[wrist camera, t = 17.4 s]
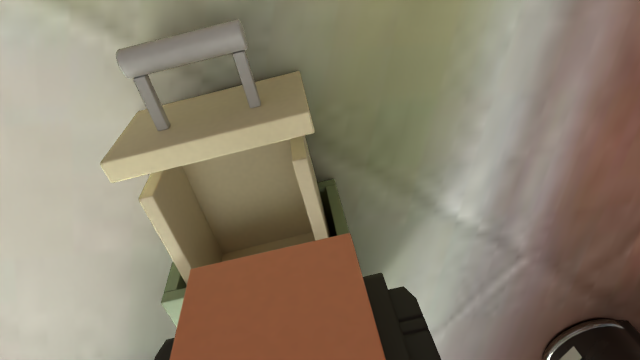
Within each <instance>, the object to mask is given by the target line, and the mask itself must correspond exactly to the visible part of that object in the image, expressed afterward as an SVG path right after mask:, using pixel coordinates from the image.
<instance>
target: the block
mask: <svg viewBox="0 0 640 360" xmlns="http://www.w3.org/2000/svg"><path fill="white" fill-rule="evenodd" d="M170 360H386V359H385V355H384V352H383V348H382V344H381V341H380V337H379V334H378V330H377V327H376V323H375V319H374V316H373V312H372V309H371V305H370V302H369V298H368V294H367V291H366V287H365V284H364V280H363V277H362V273H361V269H360V266H359V262H358V259H357V255H356V252H355V248H354V244H353V241H352V237H351V234H350V233H347V234H342V235H338V236H333V237H329V238H325V239H320V240H316V241H312V242H307V243H303V244H298V245H294V246H290V247H285V248H281V249H276V250H272V251H268V252H263V253H259V254H254V255H250V256H246V257H241V258H237V259H232V260H228V261H224V262H219V263H215V264H211V265H206V266H202V267H197V268H193V269H191V270H190V274H189V278H188V282H187V287H186V291H185V295H184V299H183V304H182V308H181V312H180V317H179V321H178V325H177V330H176V334H175V338H174V343H173V347H172V351H171V356H170Z"/></svg>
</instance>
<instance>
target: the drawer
mask: <svg viewBox="0 0 640 360" xmlns="http://www.w3.org/2000/svg"><path fill="white" fill-rule="evenodd" d="M247 48H248V45H247V40H246V36H245V32H244V29H243V26H242V24H241V22H240V20H238V19H237V20H233V21H229V22H225V23H221V24H217V25H213V26H209V27H205V28H201V29H197V30H194V31H190V32H186V33H182V34H178V35H174V36H170V37H166V38H162V39H158V40H154V41H150V42H146V43H142V44H138V45H134V46H130V47H126V48H122V49H119V50H118V51H117V52H116V59H117V63H118V65H119V68H120V70H121V71H122V73H123V74H124V75H125V76H126V77H127V78H130V79H131V78H134V82H135V84H136V86H137V88H138V91H139V93H140V95H141V97H142V99H143V101H144V103H145V105H146V107H147V109H145V110H141V111H138V112H137V113H136V115H135V116H134V117H133V119H132V120H131V122H130V123H129V124H128V126H127V127H126V128H125V130H124V131H123V132H122V134H121V135H120V137H119V138H118V139H117V141H116V142H115V143H114V145H113V146H112V147H111V149H110V150H109V152H108V153H107V154H106V156H105V157H104V158H103V160H102V161H101V162H100V165H101V167H102V169H103V170H104V172H105V174H106V175H107V177H108V179H109V180H110V182H111V183H114V182H118V181H122V180H126V179H130V178H134V177H138V176H142V175H146V174H150V173H151V174H150V176H149V178H148V180H147V182H146V185H145V187H144V189H143V191H142V193H141V195H140V197H139V202H140V203H141V205H142V207H143V209H144V211H145V212H146V214H147V216H148V218H149V219H150V221H151V223H152V225H153V226H154V228H155V230H156V232H157V234H158V235H159V237H160V239H161V241H162V242H163V244H164V246H165V248H166V249H167V251H168V253H169V255H170V256H171V258H172V260H173V262H174V264H175V265H176V267H177V269H178V271H179V272H180V274H181V276H182V278H183V279H184V281H185V283H186V285H187V282H188V278H189V274H190V270H191V269H193V268H197V267H202V266H206V265H211V264H215V263H219V262H224V261H228V260H232V259H237V258H241V257H246V256H250V255H254V254H259V253H263V252H268V251H272V250H276V249H281V248H285V247H290V246H294V245H298V244H303V243H307V242H312V241H316V240H320V239H325V238H329V237H331V235H330V230H329V226H328V222H327V219H326V215H325V211H324V207H323V203H322V199H321V196H320V192H319V188H318V184H317V180H316V176H315V173H314V169H313V165H312V161H311V157H310V154H309V150H308V146H307V142H306V138H305V135H308V134H312V133H314V131H315V130H314V126H313V122H312V118H311V114H310V110H309V106H308V102H307V98H306V94H305V90H304V86H303V82H302V78H301V74H300V72H299V71H297V72H293V73H289V74H285V75H281V76H277V77H273V78H269V79H265V80H261V81H257V82H255V81H254V78H253V74H252V71H251V68H250V65H249V62H248V58H247V55H246V52H245V50H246V49H247ZM230 53H233V58H234V61H235V64H236V67H237V70H238V73H239V76H240V79H241V82H242V85H241V86H237V87H233V88H229V89H225V90H221V91H217V92H213V93H209V94H205V95H201V96H197V97H193V98H189V99H185V100H181V101H177V102H173V103H169V104H165V105H161V103H160V100H159V98H158V96H157V94H156V92H155V89H154V87H153V85H152V83H151V81H150V78H149V76H148V74H151V73H155V72H159V71H163V70H167V69H171V68H175V67H179V66H183V65H187V64H191V63H195V62H199V61H203V60H207V59H210V58H214V57H218V56H222V55H226V54H230Z"/></svg>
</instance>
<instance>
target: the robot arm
mask: <svg viewBox="0 0 640 360" xmlns="http://www.w3.org/2000/svg"><path fill="white" fill-rule="evenodd" d="M363 280H364V284H365V287H366V291H367V294H368V298H369V302H370V305H371V309H372V312H373V316H374V319H375V323H376V327H377V330H378V334H379V337H380V341H381V344H382V348H383V352H384V355H385V359H386V360H441V358H440V355H439V353H438V351H437V348H436V346H435V343H434V341H433V338H432V336H431V334H430V331H429V330H428V326H427V324H426V321H425V319H424V317H423V314H422V312H421V309H420V307H419V304H418V302H417V299H416V298H415V297H414V296H413V295H412V294H411V293H410V292H409V291H408V290H407V289H406V288H405V287H404V286H403V287H399V288H395V289H390V290H388V288H387V286H386V283H385V280H384V277H383V274H382V273H378V274H373V275H369V276H364V277H363ZM173 343H174V338H172V339H167V340H166V341H165V342H164V344H163V346H162V347H161V349H160V350H159V352H158V353H157V355H156V357H155V360H170V356H171V351H172V347H173ZM543 360H640V333H639V332H638V331H637V330H636V329H635V328H634V327H633V326H632V325H631V324H630V323H629V322H628V321H622V322H617V321H614V320H610V319H598V320H592V321H588V322H584V323H581V324H578V325H576V326H574V327H572V328H570V329H568V330H566V331H565V332H563V333H561V334H560V335H559V336H557V337H556V338H555V339H554V340H553V341H552V342H551V343H550V344H549V345H548V347H547V348H546V350H545V352H544V355H543Z"/></svg>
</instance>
